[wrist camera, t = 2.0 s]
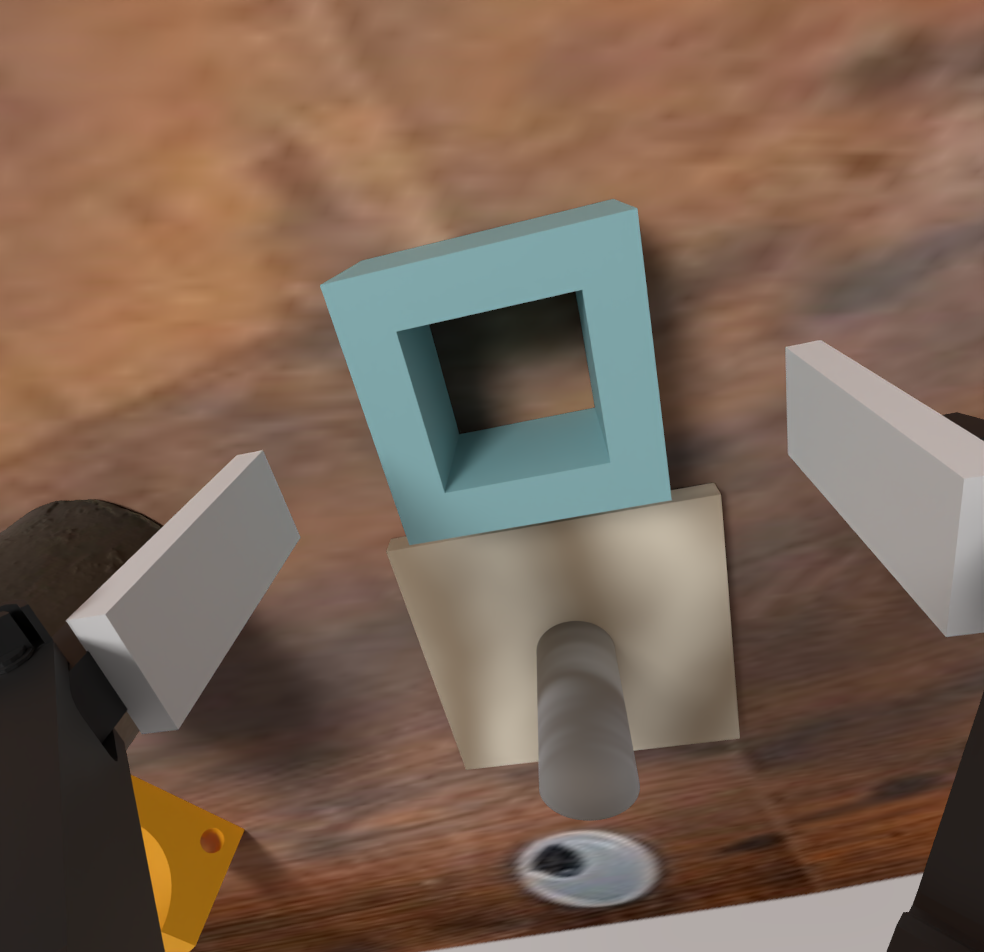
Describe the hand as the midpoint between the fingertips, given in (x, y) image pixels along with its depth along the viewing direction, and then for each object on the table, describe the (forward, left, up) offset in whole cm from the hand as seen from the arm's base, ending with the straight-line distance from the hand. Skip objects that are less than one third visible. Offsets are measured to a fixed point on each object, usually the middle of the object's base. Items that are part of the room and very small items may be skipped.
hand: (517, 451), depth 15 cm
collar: (0, 0, -9) cm, 9 cm away
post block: (0, -14, -9) cm, 16 cm away
